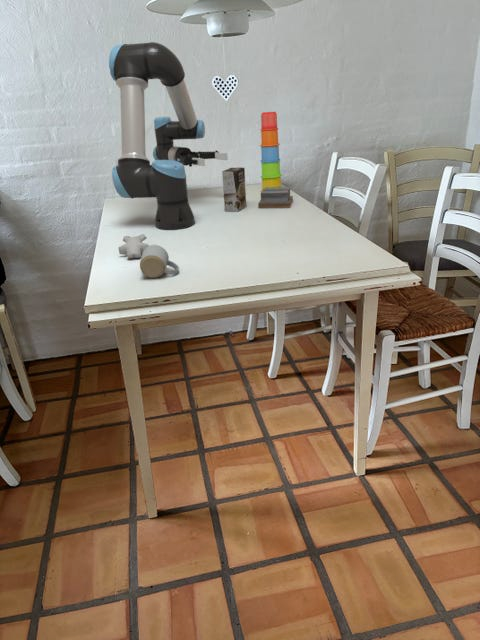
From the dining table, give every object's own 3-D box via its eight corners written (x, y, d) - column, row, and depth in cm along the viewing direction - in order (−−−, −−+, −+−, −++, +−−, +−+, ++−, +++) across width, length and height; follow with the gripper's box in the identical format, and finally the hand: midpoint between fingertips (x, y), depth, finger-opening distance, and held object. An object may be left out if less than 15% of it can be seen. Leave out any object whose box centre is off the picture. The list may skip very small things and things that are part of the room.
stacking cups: (257, 193, 222) (254, 113, 206) (265, 189, 230) (263, 111, 215) (278, 194, 218) (277, 112, 203) (285, 189, 227) (284, 110, 211)
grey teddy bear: (116, 250, 147) (118, 231, 159) (119, 265, 149) (121, 245, 162) (147, 247, 148) (147, 228, 160) (150, 261, 151) (149, 242, 163)
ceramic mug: (140, 280, 134) (137, 254, 130) (144, 269, 141) (140, 244, 138) (178, 278, 134) (176, 252, 131) (180, 267, 141) (177, 243, 138)
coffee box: (238, 212, 195) (236, 171, 187) (224, 211, 197) (221, 171, 190) (247, 206, 202) (245, 167, 195) (233, 205, 205) (230, 166, 197)
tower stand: (289, 208, 196) (289, 193, 193) (258, 208, 198) (257, 193, 195) (292, 200, 207) (292, 186, 204) (263, 200, 209) (262, 186, 207)
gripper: (201, 160, 220) (236, 163, 207) (160, 170, 204) (194, 174, 191) (200, 142, 216) (235, 145, 204) (157, 151, 200) (192, 155, 188)
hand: (215, 159), depth 197 cm, fingers open, 13 cm apart
